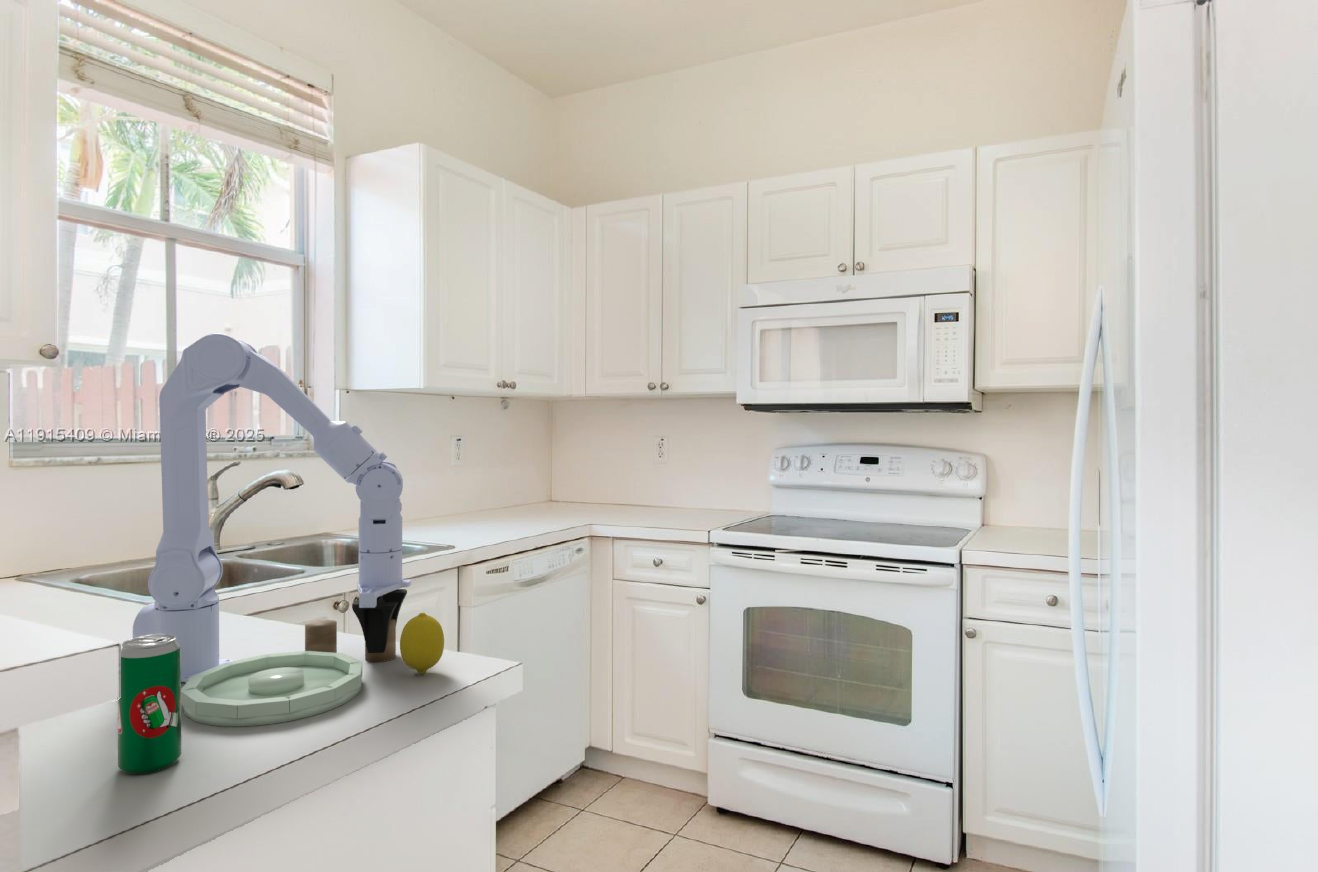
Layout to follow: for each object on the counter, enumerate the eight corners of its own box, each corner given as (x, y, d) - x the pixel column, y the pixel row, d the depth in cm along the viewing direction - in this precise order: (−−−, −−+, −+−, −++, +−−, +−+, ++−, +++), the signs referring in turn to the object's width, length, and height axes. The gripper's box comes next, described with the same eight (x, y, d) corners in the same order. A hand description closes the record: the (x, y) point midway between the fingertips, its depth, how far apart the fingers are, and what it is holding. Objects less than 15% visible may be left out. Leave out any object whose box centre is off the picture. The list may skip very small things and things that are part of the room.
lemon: (431, 682, 98) (431, 619, 97) (391, 679, 99) (391, 616, 98) (451, 668, 103) (451, 608, 103) (413, 665, 104) (413, 606, 104)
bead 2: (359, 661, 106) (359, 624, 106) (375, 652, 110) (375, 617, 110) (385, 663, 105) (385, 626, 105) (401, 654, 109) (401, 619, 109)
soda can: (137, 754, 76) (137, 633, 76) (191, 752, 76) (191, 632, 76) (105, 777, 71) (104, 648, 71) (163, 776, 71) (162, 647, 71)
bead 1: (298, 662, 105) (298, 626, 105) (317, 654, 109) (317, 619, 109) (324, 665, 104) (325, 628, 104) (342, 656, 108) (342, 620, 108)
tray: (141, 718, 85) (141, 696, 85) (262, 665, 104) (262, 647, 104) (294, 733, 81) (294, 710, 81) (391, 675, 100) (391, 656, 100)
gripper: (399, 558, 100) (398, 662, 101) (420, 541, 115) (420, 632, 115) (342, 559, 100) (342, 664, 100) (371, 541, 114) (371, 633, 114)
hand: (380, 647), depth 107 cm, fingers closed on bead 2, 4 cm apart
